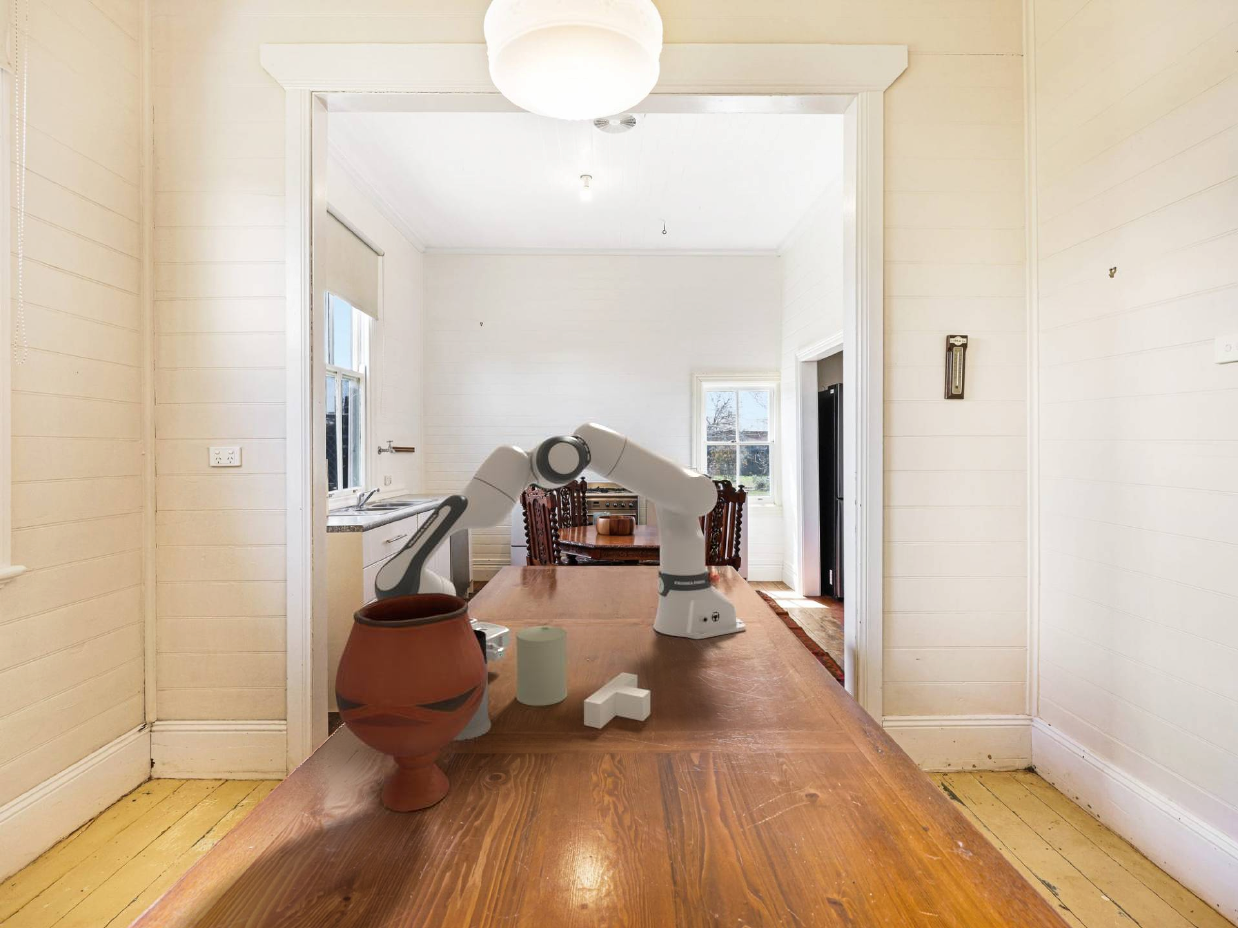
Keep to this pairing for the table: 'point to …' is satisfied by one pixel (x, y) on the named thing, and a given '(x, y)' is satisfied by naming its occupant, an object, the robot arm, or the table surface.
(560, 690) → the can
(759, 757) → the table surface
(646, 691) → the T stop
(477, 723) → the glass holder
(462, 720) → the goblet
